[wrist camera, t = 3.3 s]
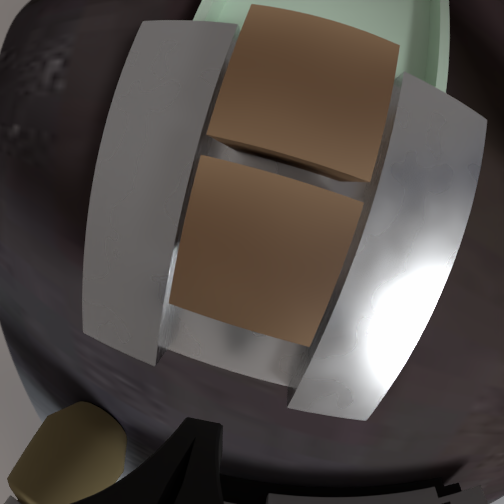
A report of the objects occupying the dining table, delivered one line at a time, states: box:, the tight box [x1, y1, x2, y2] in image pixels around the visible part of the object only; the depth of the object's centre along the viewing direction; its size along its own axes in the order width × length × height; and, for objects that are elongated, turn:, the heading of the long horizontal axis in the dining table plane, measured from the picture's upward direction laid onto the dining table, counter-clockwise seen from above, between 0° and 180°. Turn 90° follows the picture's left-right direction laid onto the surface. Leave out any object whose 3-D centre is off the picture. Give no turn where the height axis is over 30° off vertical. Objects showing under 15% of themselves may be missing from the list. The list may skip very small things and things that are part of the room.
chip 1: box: [206, 4, 400, 182], centre depth 8 cm, size 4×4×4 cm
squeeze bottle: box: [4, 401, 127, 504], centre depth 11 cm, size 8×8×18 cm
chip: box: [169, 155, 364, 347], centre depth 9 cm, size 4×4×4 cm
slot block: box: [82, 20, 487, 421], centre depth 11 cm, size 14×14×4 cm
